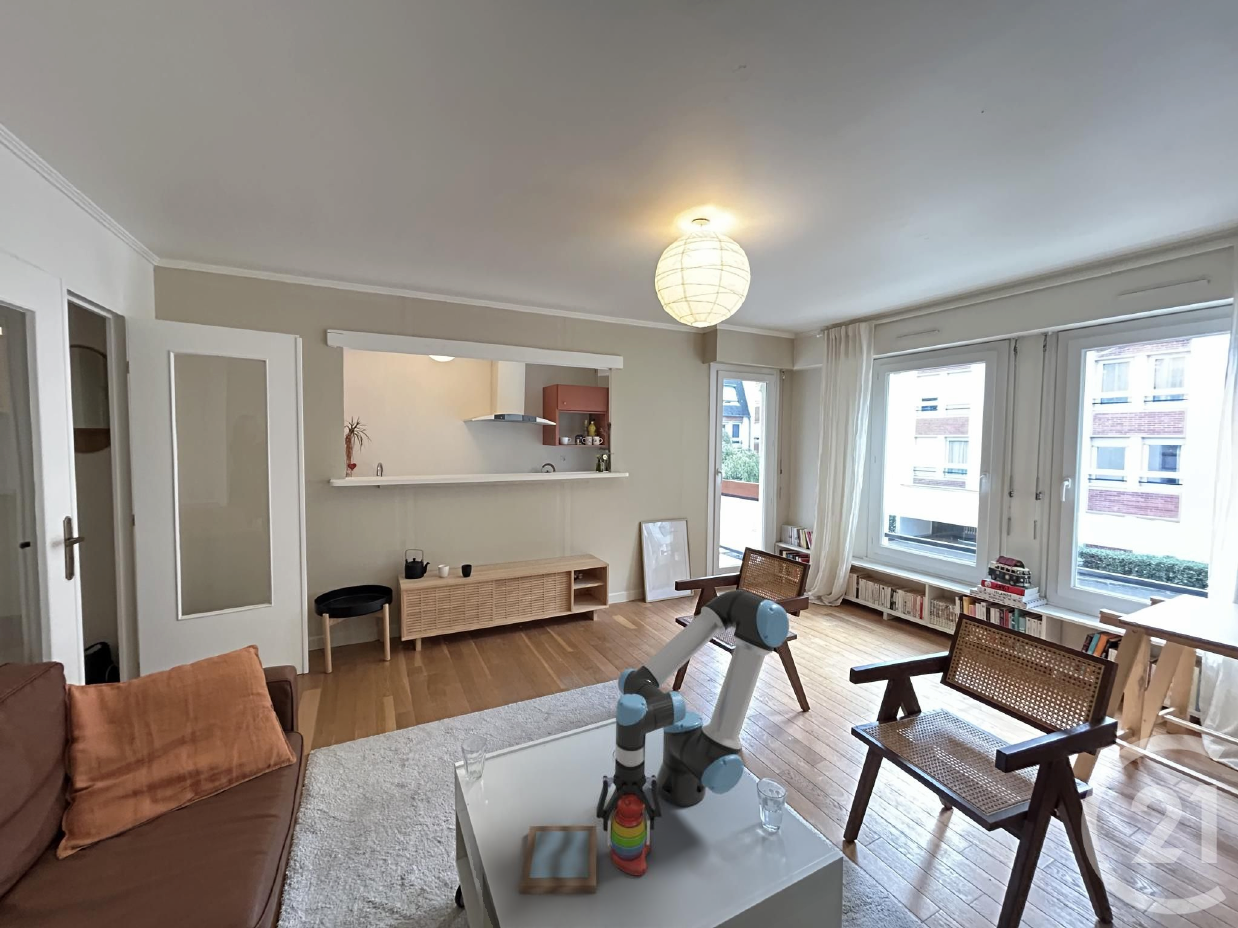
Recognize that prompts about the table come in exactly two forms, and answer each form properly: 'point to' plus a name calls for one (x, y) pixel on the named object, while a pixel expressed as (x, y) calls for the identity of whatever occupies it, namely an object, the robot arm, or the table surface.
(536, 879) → the base board
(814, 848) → the table surface
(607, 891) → the table surface
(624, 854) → the stacking bear
